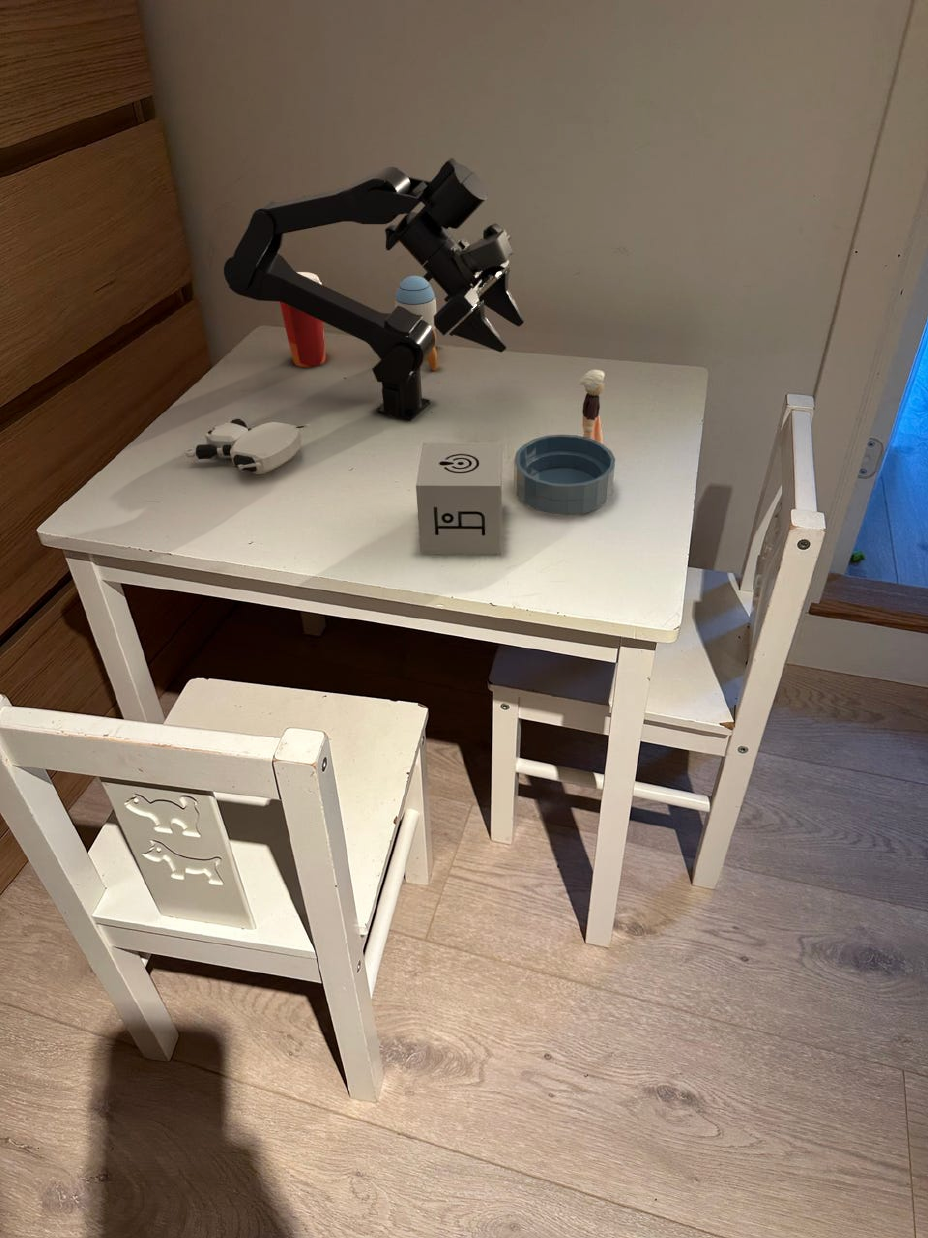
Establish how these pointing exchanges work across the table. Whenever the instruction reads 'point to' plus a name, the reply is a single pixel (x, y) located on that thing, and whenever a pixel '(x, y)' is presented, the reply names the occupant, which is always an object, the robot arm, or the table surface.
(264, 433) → the robot toy
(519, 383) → the table surface
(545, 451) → the blue pet bowl
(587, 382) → the grandmother figurine
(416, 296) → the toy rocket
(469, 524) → the icon cube
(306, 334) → the paper cup
